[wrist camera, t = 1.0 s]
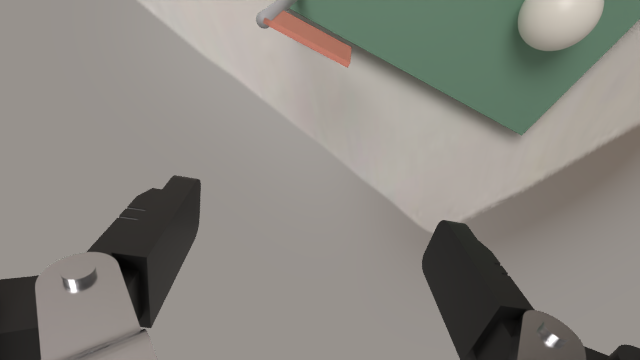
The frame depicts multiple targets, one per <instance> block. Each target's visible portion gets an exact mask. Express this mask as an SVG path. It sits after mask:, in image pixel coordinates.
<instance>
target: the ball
mask: <svg viewBox="0 0 640 360" xmlns="http://www.w3.org/2000/svg"><path fill="white" fill-rule="evenodd" d="M603 8H604V0H525V1H524V2H523V4H522V6H521V9H520V11H519V15H518V30H519V33H520V35H521V37H522V39H523V40H524V41H525V42H526V43H527V44H528V45H529V46H531V47H533V48H535V49H538V50H542V51H556V50H561V49H565V48H568V47H570V46H572V45H574V44H576V43H578V42H579V41H581V40H582V39H583V38H585V37H586V36H587V35H588V34H589V33H590V32H591V31H592V30H593V29H594V27H595V26H596V24H597V23H598V21H599V19H600V17H601V15H602V12H603Z"/></svg>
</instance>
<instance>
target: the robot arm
mask: <svg viewBox="0 0 640 360" xmlns="http://www.w3.org/2000/svg"><path fill="white" fill-rule="evenodd" d="M200 191H201V183H200V180H199V179H194V178H188V177H182V176H173V177H172V178H171V179H170V180H169V182H168V183H167V184H166V185H165V187H164V188H163V189H162V190H161V189H155V188H152V189H150V190H148V191H146V192H144V193H142V194H140V195H138V196H137V197H136V198H135V199H134V200H133V201H132V203H130V205H129V206H128V208H127V209H125V210H124V211H123V212H122V213H121V214H120V216H119V218H117V219H116V220H115V221H114V222H113V223H112V225H111V226H110V227H109V228H108V229H107V230H106V231H105V232H104V233H103V234H102V235H101V237H100V238H99V239H98V240H97V241H96V242H95V243H94V244H93V245H92V246H91V248H90V249H89V250H88V251H87V252H84V253H78V254H73V255H70V256H67V257H64V258H62V259H60V260H58V261H56V262H54V263H52V264H51V265H49V266H48V267H47V268H45V269H44V270H43V271H42V272H41V273H40V275H38V276H32V277H21V278H11V279H1V280H0V360H158V359H157V356H156V353H155V350H154V348H153V345H152V342H151V339H150V337H149V335H148V333H147V331H146V330H145V329H143V330H141V328H140V327H147V328H151V327H152V325H153V323H154V321H155V319H156V317H157V315H158V313H159V311H160V309H161V307H162V305H163V302H164V300H165V298H166V296H167V294H168V292H169V290H170V288H171V286H172V284H173V282H174V280H175V278H176V276H177V274H178V272H179V270H180V268H181V266H182V264H183V262H184V260H185V258H186V256H187V254H188V252H189V250H190V248H191V246H192V244H193V242H194V239H195V237H196V234H197V231H198V226H199V215H200ZM422 269H423V273H424V275H425V277H426V280H427V282H428V285H429V287H430V289H431V292H432V294H433V296H434V299H435V301H436V304H437V306H438V308H439V310H440V313H441V315H442V318H443V320H444V322H445V325H446V327H447V329H448V332H449V334H450V337H451V339H452V341H453V344H454V346H455V348H456V351H457V353H458V355H459V357H460V360H640V348H637V347H634V346H631V345H621V346H619V347H618V348H617V349H616V350H615V351H614V352H613V353H612V354H611V355H610V356H607V355H605V354H602V353H600V352H597V351H595V350H592V349H589V348H587V347H584V346H583V344H582V342H581V340H580V339H579V338H578V336H577V335H576V334H575V333H574V332H573V331H572V330H571V329H570V328H569V327H568V326H566V325H565V324H564V323H562V322H561V321H560V320H558V319H556V318H555V317H553V316H551V315H549V314H547V313H544V312H541V311H536V310H534V309H533V307H532V306H531V305H530V303H529V302H528V300H527V299H526V298H525V296H524V295H523V294H522V292H521V291H520V290H519V288H518V287H517V285H516V284H515V283H514V281H513V280H512V279H511V277H510V276H508V275H507V274H508V273H507V272H506V271H505V269H504V268H503V267H502V266H500V262H499V261H498V260H497V258H496V257H495V256H494V254H493V253H492V252H491V251H490V250H489V249H488V248H487V247H486V246H484V245H483V244H482V243H481V242H480V241H478V240H477V238H476V237H475V236H474V234H473V233H472V232H471V230H470V229H469V227H468V226H467V225H466V224H464V223H458V222H452V221H446V220H442V221H441V222H439V224H438V225H437V227H436V229H435V232H434V234H433V236H432V238H431V240H430V242H429V245H428V246H427V249H426V251H425V253H424V255H423V260H422Z"/></svg>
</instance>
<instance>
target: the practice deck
mask: <svg viewBox="0 0 640 360" xmlns="http://www.w3.org/2000/svg"><path fill="white" fill-rule="evenodd" d="M524 1H525V0H276V1H275V2H274V3H272V4H271V5H269V6H268V7H267V8H265V9H264V10H262V11H261V12H259V13H258V14H257V17H256V22H257V24H258V25H259V26H260V27H261V28H264V29H265V28H268V27H271V28H273V29H275V30H277V31H279V32H281V33H283V34H285V35H287V36H288V37H290V38H292V39H294V40H296V41H298V42H300V43H302V44H304V45H305V46H307V47H309V48H311V49H313V50H315V51H317V52H319V53H321V54H323V55H324V56H326V57H328V58H330V59H332V60H334V61H336V62H338V63H340V64H341V65H343V66H345V67H347V68H348V66H349V64H350V59H351V47H350V46H348V45H346V44H344V43H343V42H341V41H339V40H337V39H335V38H333V37H331V36H330V35H328V34H326V33H324V32H322V31H320V30H319V29H317V28H315V27H313V26H311V25H309V24H308V23H306V22H304V21H302V20H300V19H298V18H296V17H295V16H293V15H291V14H289V13H287V12H285V11H286V10H288V9H291V10H293V11H295V12H297V13H298V14H300V15H302V16H304V17H306V18H308V19H309V20H311V21H313V22H315V23H317V24H319V25H320V26H322V27H324V28H326V29H328V30H330V31H331V32H333V33H335V34H337V35H339V36H341V37H342V38H344V39H346V40H348V41H350V42H352V43H353V44H355V45H357V46H359V47H361V48H363V49H364V50H366V51H368V52H370V53H372V54H374V55H375V56H377V57H379V58H381V59H383V60H384V61H386V62H388V63H390V64H392V65H394V66H395V67H397V68H399V69H401V70H403V71H405V72H406V73H408V74H410V75H412V76H414V77H416V78H417V79H419V80H421V81H423V82H425V83H427V84H428V85H430V86H432V87H434V88H436V89H438V90H439V91H441V92H443V93H445V94H447V95H449V96H450V97H452V98H454V99H456V100H458V101H460V102H461V103H463V104H465V105H467V106H469V107H471V108H472V109H474V110H476V111H478V112H480V113H482V114H483V115H485V116H487V117H489V118H491V119H493V120H494V121H496V122H498V123H500V124H502V125H504V126H505V127H507V128H509V129H511V130H513V131H515V132H516V133H518V134H520V135H523V134H524V133H525V132H526V131H527V130H528V129H529V128H530V127H531V126H532V125H533V124H534V123H535V122H536V121H537V120H538V119H539V118H540V117H541V116H542V115H543V114H544V113H545V112H546V111H547V110H548V109H549V108H550V107H551V106H552V105H553V104H554V103H555V102H556V101H557V100H558V99H559V98H560V97H561V96H562V95H563V94H564V93H565V92H566V91H567V90H568V89H569V88H570V87H571V86H572V85H573V84H574V83H575V82H576V81H577V80H578V79H579V78H580V77H581V76H582V75H583V74H584V73H585V72H586V71H587V70H588V69H589V68H590V67H591V66H592V65H593V64H595V63H596V62H597V61H598V60H599V59H600V58H601V57H602V56H603V55H604V54H605V53H606V52H607V51H608V50H609V49H610V48H611V47H612V46H613V45H614V44H615V43H616V42H617V41H618V40H619V39H620V38H621V37H622V36H623V35H624V34H625V33H626V32H627V31H628V30H629V29H630V28H631V27H632V26H633V25H634V24H635V23H636V22H637V21H638V20H639V19H640V0H604V8H603V12H602V15H601V17H600V19H599V21H598V23H597V24H596V26H595V27H594V29H593V30H592V31H591V32H590V33H589V34H588V35H587V36H586V37H585V38H583V39H582V40H581V41H579V42H578V43H576V44H574V45H572V46H570V47H568V48H565V49H561V50H556V51H542V50H538V49H535V48H533V47H531V46H529V45H528V44H527V43H526V42H525V41H524V40H523V39H522V37H521V35H520V33H519V30H518V15H519V11H520V9H521V6H522V4H523V2H524Z"/></svg>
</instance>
